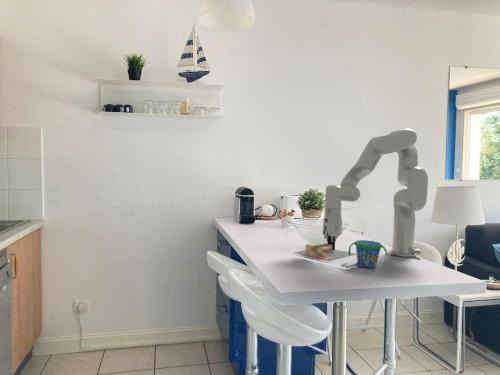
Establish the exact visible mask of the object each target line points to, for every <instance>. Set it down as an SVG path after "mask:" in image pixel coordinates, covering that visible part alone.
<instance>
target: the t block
mask: <svg viewBox="0 0 500 375" xmlns="http://www.w3.org/2000/svg"><path fill="white" fill-rule="evenodd" d="M305 250H306V253H307V254H311V255H315V256H320V257H324V258H327V257H331V254H332V245H330V244H327V243H321V244H316V243H308V244H306V245H305Z"/></svg>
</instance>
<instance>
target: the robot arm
mask: <svg viewBox="0 0 500 375" xmlns="http://www.w3.org/2000/svg"><path fill="white" fill-rule="evenodd" d="M417 140H418V136H417V133H416V132H415V130H413V129H411V128H404V129H397V130H394V131H391V132H390V133H389V134H386V135H380V136H374V137H372V138H371V139H370V140H369V141H368V142H367V144H366V145H365V147H364V149H363V151H362V152H361V154H360V156H359V158H358V160H357V161H356V162H355V164H354V165H353V166H352V167H351V169H350V170H349V171H348V172H347V173H346V174H345V175H344V177H343V179H342V180H341V182H340V184H339V185H335V184H334V185H333V184H332V185H331V184H330V185H329V184H328V185H327V186H326V187H325V196H324V197H325V199H324V217H323V223H322V235H323V239H325V240H326V242H327V243H326V244H330V245H332V251H333V250H336V242H337V238H338V237H339V236H341V235H342V234H343V219H342V218H343V216H342V203H343V202H349V203H352V202H356V201H358V200H359V199H360V197H361V191H360V189H359V188H358V187H357V185H358V184H359V183H360V182H361V180H363V179H364V178H366V177H367V176H369V175H371V174H372V173H373V172H374V170H375V169H376V167H377V165H378V163H379V161H380V159H381V158H382V156H383V155H388V154H392V153H397V155H398V156H397V157H398V169H397V182H398V183H399V185H401V186H403V187H406V188H403V189H402V188H401V189H399V190H397V191H396V192H395V193H394V196H393V200H392V201H393V210H394V211H393V212H394V215H393V231H392V233H393V234H392V248H391V249H389V250H388V253H389V254H391V255H392V256H396V257H403V258H414V257H417V254H418V255H422V253H423V250H422V249H419V248H417V246H416V245H415V244H414V242H415V230H416V214H415V212H419V211H422V210H424V209H423V208H425V207H426V203H427V199H428V187H429V186H428V185H429V177H428V174H427V171H426V170H425V169H424V168H422V167H420V166H418V162H419V161H418V158H419V155H418V151H417V148H416V146H415V144H416V143H417ZM342 201H343V202H342Z"/></svg>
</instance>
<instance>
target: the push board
mask: <svg viewBox="0 0 500 375" xmlns="http://www.w3.org/2000/svg"><path fill="white" fill-rule="evenodd" d="M295 254H296V256H298V257H299V256H300V255H301V256H300V257H302V258H303V257H309V258H312V259H313V258H314V259H316V260H317V261H321V260H323V261H321V262H324V261H326V262H332V261H336V260H340V259H344V258H347V257H351V256H355V255H356V256H357V253H354V252H350V254H351V256H349V253H348V251H344V250H340V249H335V250H333V251H332V254H331V257H327V258H324V257H320V256H315V255H311V254H307V253H306V249H305V250H304V249H303V250H300V251H295V252H293V254H292V255H293V256H294V255H295Z"/></svg>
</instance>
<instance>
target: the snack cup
mask: <svg viewBox="0 0 500 375" xmlns="http://www.w3.org/2000/svg"><path fill="white" fill-rule="evenodd" d="M353 245H355V249H356V261H357V265H358V266H359V267H360V268H367V269H374V268H377V264H378V260H379V256H380V252H381V250H382V249H381V248H383V250H384V252H385V258H384V261H385V262H386V261H387V257H388V251H387V248H386V247H385V246H384V245H383V244H382V243H380V242H378V241H374V240H373V241H372V240H365V239H361V240H360V239H359V240H356V241H353V242H352V243H351V244H350V245H349V247H348V251H347V252H348V253H349V256H348V257H351V254H350V253H351V247H352V246H353Z"/></svg>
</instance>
